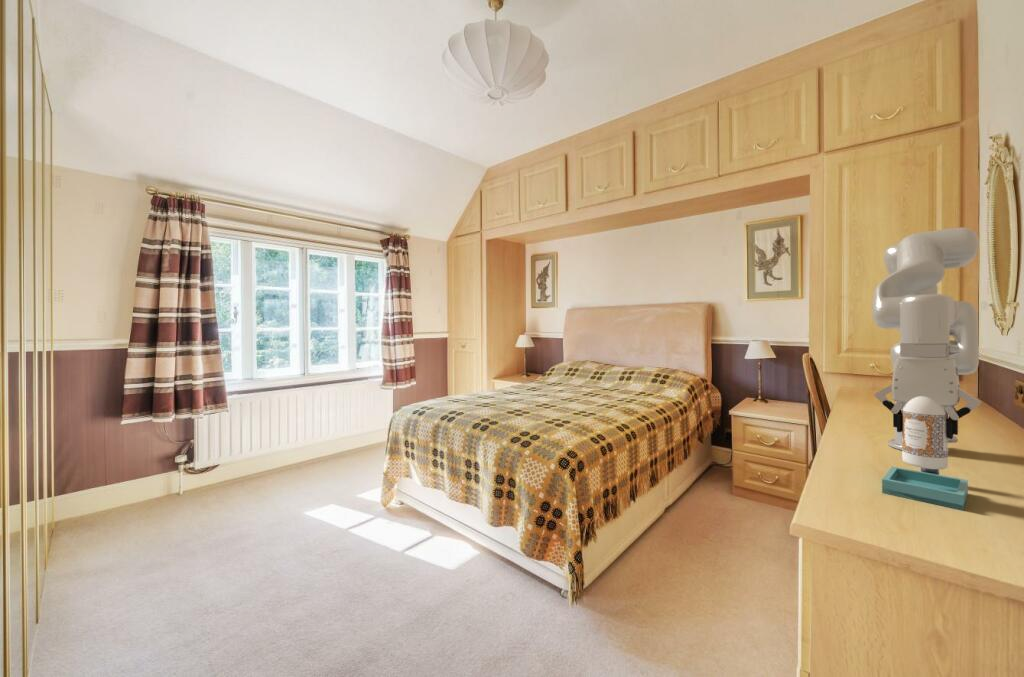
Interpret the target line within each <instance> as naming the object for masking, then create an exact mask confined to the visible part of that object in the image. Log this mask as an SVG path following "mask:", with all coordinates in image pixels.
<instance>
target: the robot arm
mask: <svg viewBox="0 0 1024 677" xmlns="http://www.w3.org/2000/svg"><path fill="white" fill-rule="evenodd" d="M979 245H980V244H979V238H978V235H977V233H976V232H975V231H974V230H973V229H971V228H968V227H953V228H946V229H945V228H944V229H936V230H929V231H923V232H916V233H911V234H909V235H907V236H905V237H903V238H902V239H901V240H900V241H899V242H898V243H897V244H894V245H891V246H889V247H887V248H886V249H885V251H884V254H883V262H884V266H885V269H886V271H887V273H888V276H886V277H885V278H884V279H883V280H882V281H881V282H879V283H878V284H877V286H876V288H875V289H874V292H873V296H872V306H871V316H872V321H873V323H874V324H875V325H876V326H877V327H879V328H882V329H890V330H891V329H892V330H893V329H897V330H898V331H899V342H896V343H894V344H893V345H892V346H891V348H890V354H889V355H890V361H891V365H892V366H891V367H892V370H893V372H892V382H891V384H890V385H888V386H886V387H885V388H883V389H881V390H879V391H878V392H876V393H874V397H875V398H876V399H877V400H878V401H879V402H880V403H881V404H882V405H883V406H884V407H885V408H886V409H888V411H890V412H891V414H892V419H893V421H892V423H893V424H892V426H893V428H894V438H891V439H889V440H887V445H888V446H889V447H892V448H894V449H897V450H900V451H902V407H903V405H904V404H905V403H907V402H908V401H910V400H911V399H913V398H915V397H918V396H925V397H929V398H931V399H933V400H934V401H936V402H937V403H938V404H939V405H940V406H942V407H944V409H945V411H946V412H947V413H948V419H947V438H948V444H952V443H953V444H954V443H955V444H956V443H957V442H959V441H958V440H959V439H958V437H957V436H958V435H959V420H960V419H961V418H963V417H964V416H966V415H968V414H969V413H971V412H972V411H974V410H975V409H977V408H978V407H979V406H981V404H982V401H981V400H980V399H977V398H976V397H974V396H973V395H971V394H969V393H968V392H967V391H964V390H963V389H961V388H960V377H959V376H960V375H961V376H962V375H963V376H965V375H971V374H974V373H975V372H977V370H978V367H979V363H980V349H979V348H980V345H979V343H980V342H979V340H980V339H979V317H978V311H977V309H976V307H975V306H974V304H972V303H970V302H967V301H962V300H960V301H959V300H955V299H954V298H953V297H952V296H950V295H946V294H941V293H939V294H938V285H937V284H939V283H940V282H942V280H943V279H944V277H945V274H946V270H947V269H956V268H958V269H959V268H964V267H967V266H968V265H970V264H971V263H972V261H973V260H974V259H975V258H976V257H977V254H978V252H979V247H980V246H979ZM950 337H952V338H953V340H951V339H950ZM890 393H891V397H892V398H891V399H892V400H893V401H894V403H893V402H892V401H891V400H890V399H888V398H887V397H886V395H888V394H890ZM960 398H961V399H962V400H963V401H966V402H967V404H966V405H965V406H963V407H961V408H959V409H956V407H955V406H957V404H958V403H959V402H960ZM955 435H956V436H955ZM949 449H950V448H949V447H948V453H950V450H949Z"/></svg>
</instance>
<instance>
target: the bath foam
mask: <svg viewBox="0 0 1024 677" xmlns="http://www.w3.org/2000/svg"><path fill="white" fill-rule="evenodd" d="M948 418H949V415H948V413H947V412H946V411H945V409H944V407H942V406H940V405H939V404H938V403H937V402H936V401H934V400H933V399H931V398H929V397H925V396H918V397H915V398H913V399H911V400H910V401H908V402H907V403H905V404H904V405H903V407H902V450H901V451H902V452H901V454H902V455H901V456H902V457H901V458H902V461H903V462H904V463H905V464H907V465H909V466H913V467H916V468H920V469H921V468H927V469H939V470H944V469H947V468H948V466H949V462H948V461H949V452H948V448H949V443H948V438H947V419H948Z"/></svg>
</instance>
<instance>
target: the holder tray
mask: <svg viewBox="0 0 1024 677" xmlns="http://www.w3.org/2000/svg"><path fill="white" fill-rule="evenodd" d="M968 486H969V483H968V479H964V478H959V477H953V476H946V475H942V474H939V475H937V474H931V473H926V472H921V470H915V469H909V468H903V467H899V466H897V467H896V466H891V467H890V468H889V470H888V471H887V472H886V474H885V475H884V476H883V477H882V478H881V491H882V494H886V495H891V496H896V497H900V498H903V499H904V498H905V499H909V500H913V501H918V502H921V503H926V504H927V503H928V504H931V505H935V506H936V505H937V506H941V507H946V508H950V509H955V510H959V511H963V512H964V511H965V506H966V503H967V499H968V495H969V494H968V492H969V489H968V488H969V487H968Z"/></svg>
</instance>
